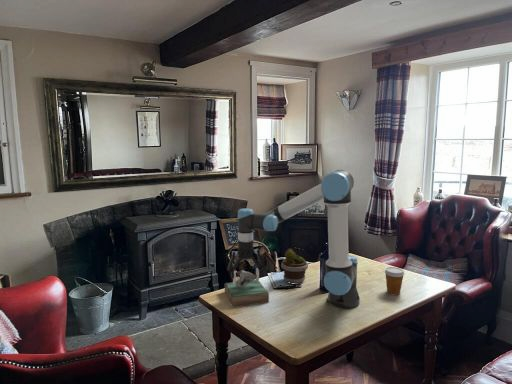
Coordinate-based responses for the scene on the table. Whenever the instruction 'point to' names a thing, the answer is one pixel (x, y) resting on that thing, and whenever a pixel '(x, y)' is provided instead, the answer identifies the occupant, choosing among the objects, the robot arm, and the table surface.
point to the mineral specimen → (245, 278)
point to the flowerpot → (294, 268)
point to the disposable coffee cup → (394, 280)
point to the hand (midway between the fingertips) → (246, 282)
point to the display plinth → (246, 294)
